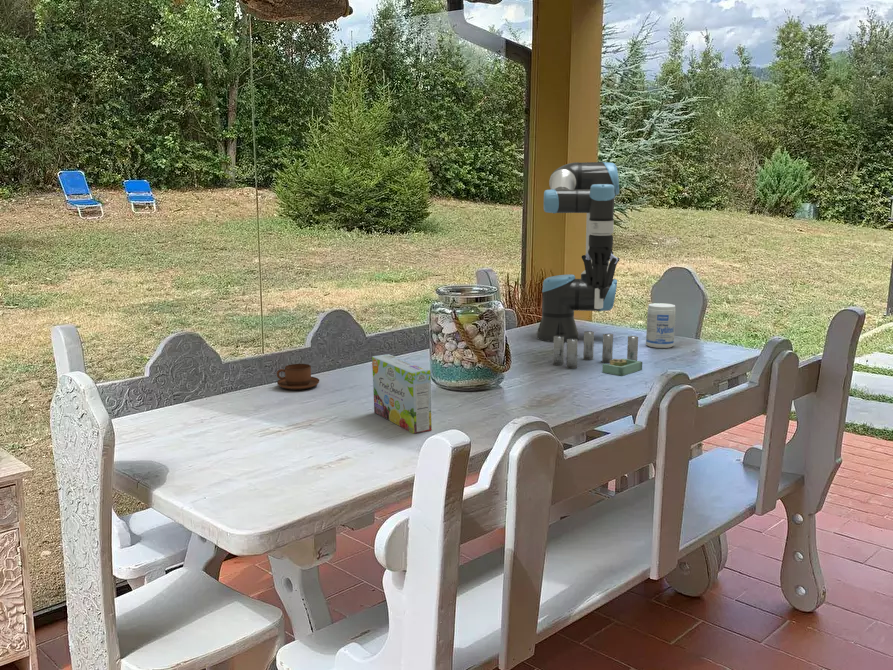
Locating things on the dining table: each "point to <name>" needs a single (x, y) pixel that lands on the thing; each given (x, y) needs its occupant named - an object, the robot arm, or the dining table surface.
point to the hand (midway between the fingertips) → (598, 308)
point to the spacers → (590, 349)
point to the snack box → (402, 393)
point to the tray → (623, 368)
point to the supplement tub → (660, 325)
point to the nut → (618, 362)
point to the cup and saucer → (297, 377)
